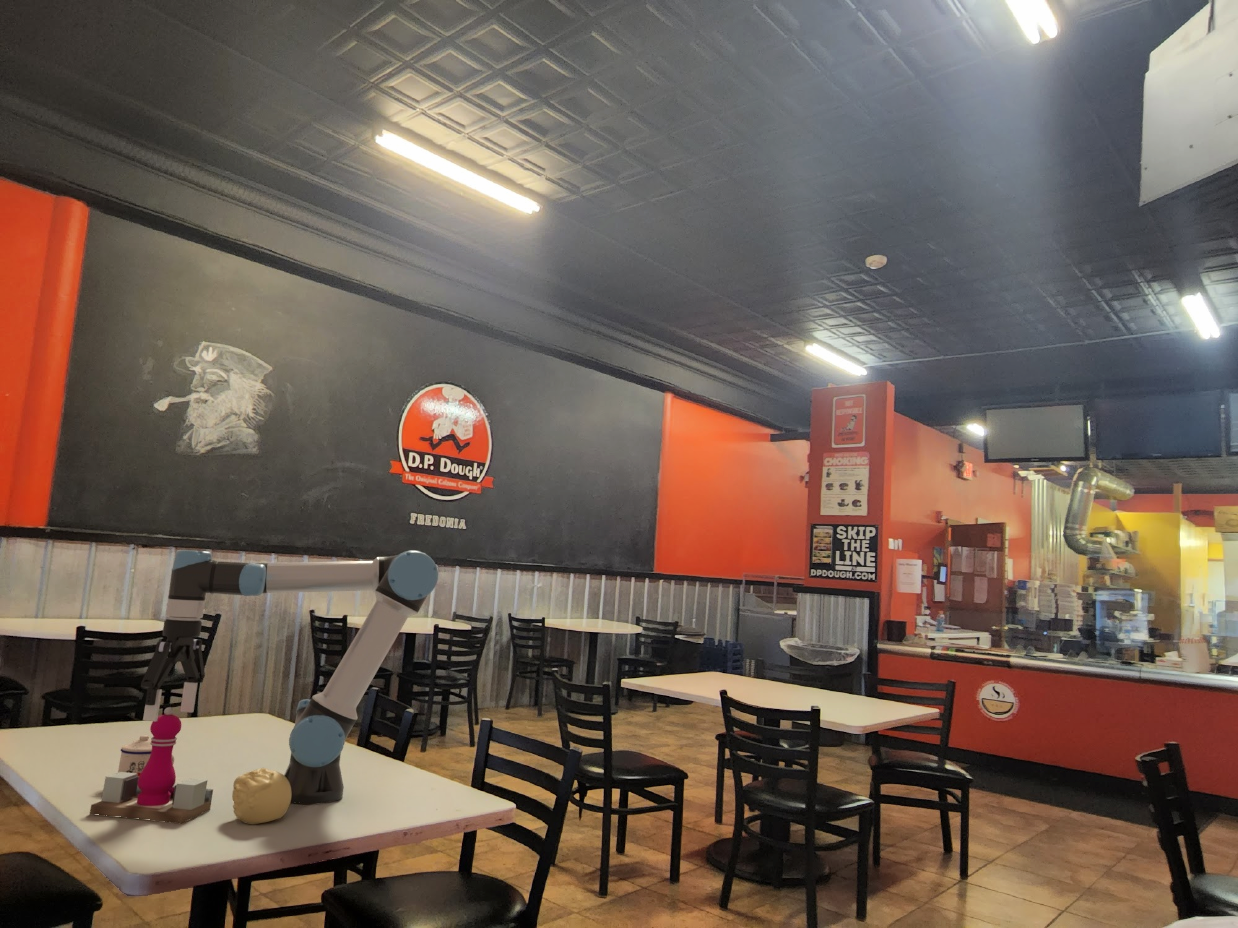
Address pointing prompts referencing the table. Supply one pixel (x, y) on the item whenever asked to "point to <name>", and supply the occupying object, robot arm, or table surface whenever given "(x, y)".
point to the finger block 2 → (189, 794)
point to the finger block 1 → (120, 787)
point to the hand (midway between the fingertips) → (169, 716)
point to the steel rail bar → (207, 795)
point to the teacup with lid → (136, 756)
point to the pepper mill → (159, 761)
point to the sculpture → (261, 796)
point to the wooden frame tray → (148, 810)
